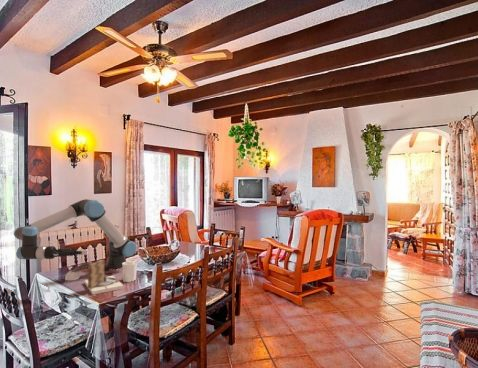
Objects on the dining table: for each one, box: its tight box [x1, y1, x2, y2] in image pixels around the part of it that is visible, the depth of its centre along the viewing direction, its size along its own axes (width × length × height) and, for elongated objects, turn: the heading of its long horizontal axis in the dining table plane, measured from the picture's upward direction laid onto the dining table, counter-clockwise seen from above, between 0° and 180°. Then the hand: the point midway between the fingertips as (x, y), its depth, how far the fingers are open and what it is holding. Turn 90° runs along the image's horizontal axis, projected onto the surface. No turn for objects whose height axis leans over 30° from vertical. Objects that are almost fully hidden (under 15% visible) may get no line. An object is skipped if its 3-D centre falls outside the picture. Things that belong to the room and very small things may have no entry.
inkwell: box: [64, 262, 93, 282], centre depth 203 cm, size 9×18×10 cm, turn 125°
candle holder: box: [121, 260, 138, 283], centre depth 199 cm, size 10×10×12 cm
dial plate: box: [84, 275, 124, 295], centre depth 187 cm, size 18×24×2 cm
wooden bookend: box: [87, 259, 116, 289], centre depth 184 cm, size 20×14×15 cm
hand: (87, 252), depth 178 cm, fingers closed
